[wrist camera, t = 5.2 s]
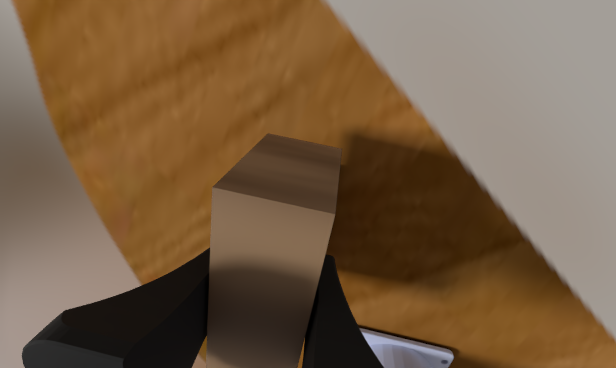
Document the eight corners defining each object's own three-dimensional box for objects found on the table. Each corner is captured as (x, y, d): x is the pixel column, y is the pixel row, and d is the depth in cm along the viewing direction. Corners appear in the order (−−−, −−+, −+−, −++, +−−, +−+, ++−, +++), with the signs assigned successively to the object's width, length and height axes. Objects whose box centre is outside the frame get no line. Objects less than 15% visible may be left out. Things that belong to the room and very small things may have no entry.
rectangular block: (305, 304, 18) (285, 416, 12) (249, 291, 18) (205, 395, 12) (341, 148, 13) (335, 214, 8) (267, 133, 14) (212, 187, 8)
